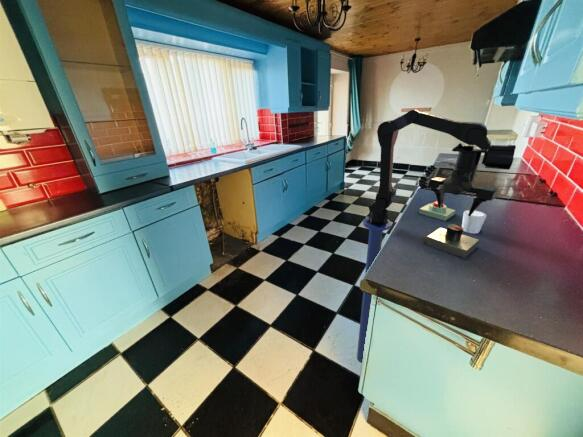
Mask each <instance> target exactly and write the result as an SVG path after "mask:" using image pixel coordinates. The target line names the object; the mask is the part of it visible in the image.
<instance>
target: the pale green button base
mask: <svg viewBox="0 0 583 437" xmlns="http://www.w3.org/2000/svg"><path fill="white" fill-rule="evenodd" d="M433 204H434V202H431V203H428V204H425V205H424V206H422V207H419V210H418V214H420V215H423V216H427V217H430V218H434V219H437V220H441V221H443V222H446V221H447V220H449V219H450V218H452V217H453V216H455V213H456V209H452V208H448V206H447V205H446V204H443V207H441V208H439V207H434V206H433Z"/></svg>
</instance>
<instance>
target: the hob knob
mask: <svg viewBox="0 0 583 437" xmlns="http://www.w3.org/2000/svg"><path fill="white" fill-rule="evenodd" d="M446 229H447V230H446V234H445V238H447V239H448V240H451V241H459V240H460V239H461V236H462V235H463V233H464V231H463V228H462V225H457V224H448V225H447V227H446Z"/></svg>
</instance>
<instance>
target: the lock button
mask: <svg viewBox="0 0 583 437" xmlns="http://www.w3.org/2000/svg"><path fill="white" fill-rule="evenodd" d="M433 203H434V204H433V206H434V207H438V202H437V200H436V201H434V202H433ZM443 204H444V202H443ZM443 204H442V207H443ZM444 205H445V204H444Z"/></svg>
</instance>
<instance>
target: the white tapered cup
mask: <svg viewBox="0 0 583 437" xmlns="http://www.w3.org/2000/svg"><path fill="white" fill-rule="evenodd" d="M469 211H470V209H466V210H464V211H463V215H462V222H461V227H462V228H463V232H465V233H468V234H479V233H480V231H481V229H482V227H483V225H484V223H485V221H486V219H487V214H486V213H485V212H483V211H480V210H477V209H476V210H475V211H474V212H473V213H472V215H471V216H468V215H469Z"/></svg>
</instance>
